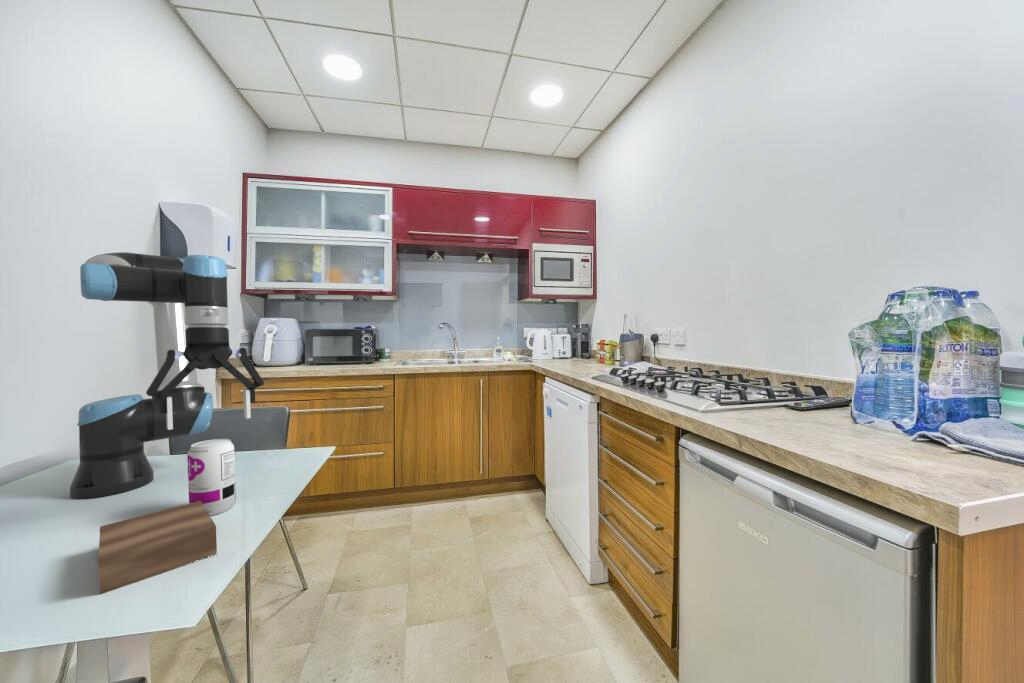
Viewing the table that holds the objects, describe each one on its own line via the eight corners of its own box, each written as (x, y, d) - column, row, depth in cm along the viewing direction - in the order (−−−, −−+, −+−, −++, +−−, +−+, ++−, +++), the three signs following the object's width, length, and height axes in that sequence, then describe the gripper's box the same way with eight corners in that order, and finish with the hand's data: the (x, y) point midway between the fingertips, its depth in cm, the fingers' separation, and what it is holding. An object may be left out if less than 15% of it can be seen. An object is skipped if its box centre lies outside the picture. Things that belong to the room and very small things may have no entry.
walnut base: (101, 554, 68) (100, 526, 68) (201, 525, 78) (200, 500, 78) (99, 594, 57) (98, 561, 57) (216, 554, 67) (216, 525, 67)
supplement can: (198, 522, 80) (196, 450, 80) (183, 513, 84) (180, 445, 84) (242, 506, 87) (240, 440, 86) (226, 499, 91) (224, 436, 91)
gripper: (128, 325, 73) (132, 436, 73) (276, 326, 91) (279, 415, 91) (127, 327, 78) (130, 431, 78) (267, 327, 96) (270, 412, 97)
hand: (210, 423), depth 85 cm, fingers open, 13 cm apart
